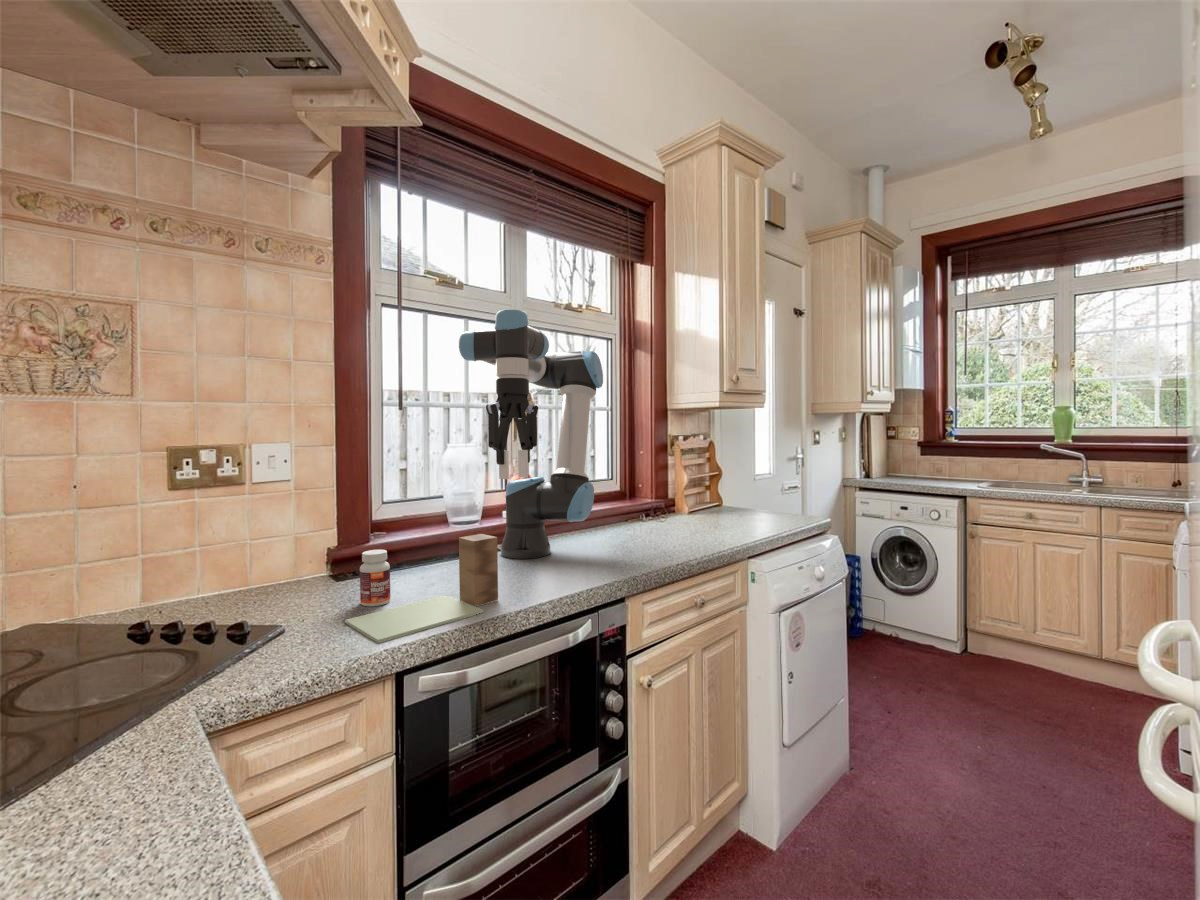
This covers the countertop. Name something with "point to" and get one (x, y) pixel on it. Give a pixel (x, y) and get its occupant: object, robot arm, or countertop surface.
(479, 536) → the walnut block
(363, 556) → the pill bottle
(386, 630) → the board
